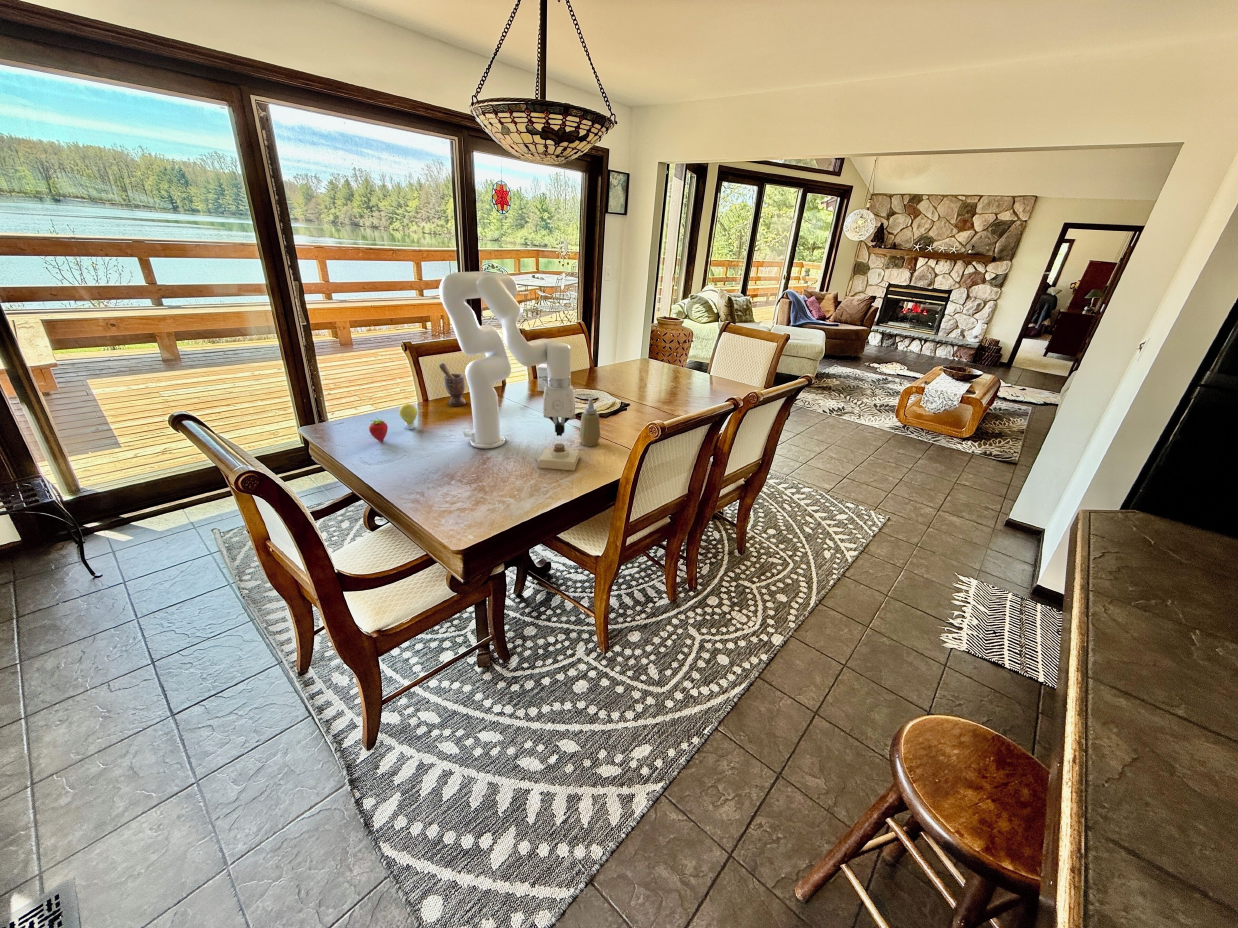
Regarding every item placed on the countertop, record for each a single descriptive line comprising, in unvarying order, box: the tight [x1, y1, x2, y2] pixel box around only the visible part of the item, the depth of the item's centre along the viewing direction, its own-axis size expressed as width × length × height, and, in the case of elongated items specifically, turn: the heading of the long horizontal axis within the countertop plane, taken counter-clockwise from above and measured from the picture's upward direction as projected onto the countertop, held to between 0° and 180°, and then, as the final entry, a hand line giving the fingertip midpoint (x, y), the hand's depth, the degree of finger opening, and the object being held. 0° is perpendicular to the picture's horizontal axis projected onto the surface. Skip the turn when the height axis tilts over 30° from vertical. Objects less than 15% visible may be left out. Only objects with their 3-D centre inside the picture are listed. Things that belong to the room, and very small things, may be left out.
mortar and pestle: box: [438, 362, 467, 407], centre depth 214 cm, size 12×9×20 cm
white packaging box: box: [537, 363, 547, 392], centre depth 242 cm, size 7×7×13 cm
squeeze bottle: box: [579, 397, 601, 447], centre depth 181 cm, size 8×8×18 cm
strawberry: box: [368, 417, 389, 443], centre depth 175 cm, size 6×8×10 cm
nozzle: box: [553, 443, 566, 452], centre depth 166 cm, size 4×4×2 cm
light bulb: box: [398, 403, 418, 430], centre depth 188 cm, size 7×7×10 cm
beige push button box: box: [538, 446, 580, 471], centre depth 167 cm, size 12×10×5 cm
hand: (559, 434), depth 163 cm, fingers closed
